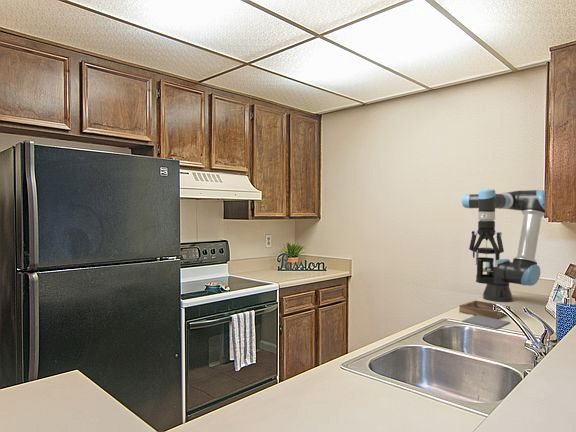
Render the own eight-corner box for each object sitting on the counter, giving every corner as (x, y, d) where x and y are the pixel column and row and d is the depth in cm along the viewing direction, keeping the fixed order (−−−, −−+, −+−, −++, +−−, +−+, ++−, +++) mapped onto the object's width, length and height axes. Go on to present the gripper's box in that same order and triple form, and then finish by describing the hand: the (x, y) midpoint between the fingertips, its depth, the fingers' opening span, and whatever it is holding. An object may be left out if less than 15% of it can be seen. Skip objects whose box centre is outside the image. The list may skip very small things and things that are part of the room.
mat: (477, 316, 199) (477, 315, 199) (510, 323, 188) (510, 321, 188) (462, 321, 189) (462, 320, 189) (496, 329, 178) (496, 327, 178)
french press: (483, 279, 213) (483, 235, 212) (501, 282, 205) (501, 236, 204) (469, 282, 206) (470, 236, 206) (487, 285, 198) (488, 237, 198)
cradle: (475, 306, 218) (475, 300, 218) (510, 313, 205) (510, 306, 205) (459, 312, 207) (459, 305, 207) (495, 319, 194) (495, 312, 194)
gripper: (462, 219, 210) (461, 263, 211) (506, 221, 194) (505, 268, 195) (468, 219, 215) (468, 262, 216) (512, 220, 199) (511, 267, 200)
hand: (485, 265), depth 205 cm, fingers closed on french press, 9 cm apart
